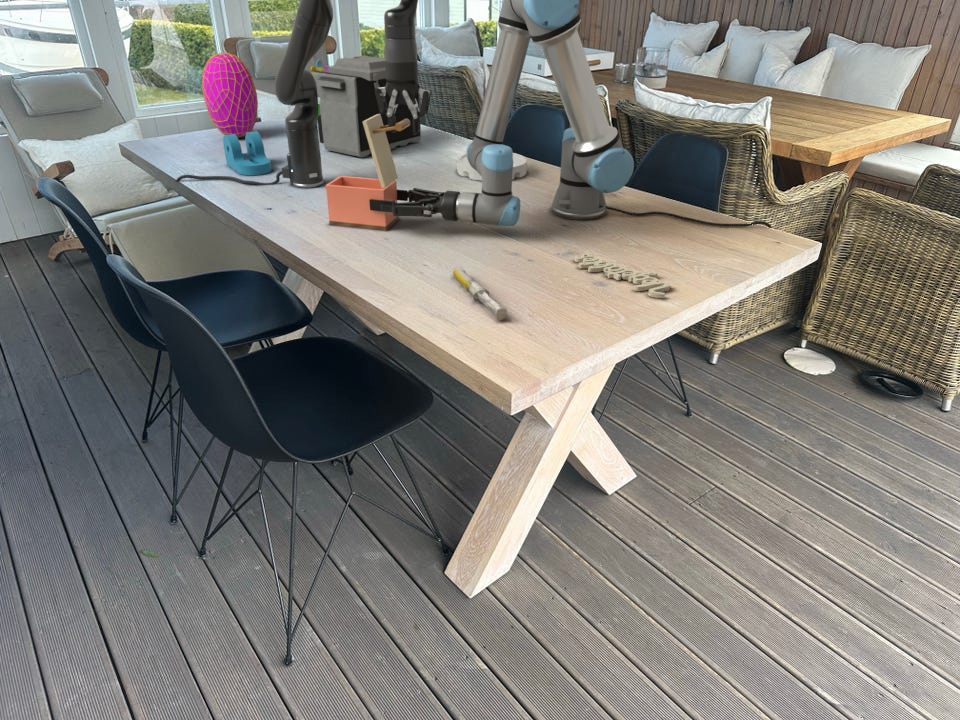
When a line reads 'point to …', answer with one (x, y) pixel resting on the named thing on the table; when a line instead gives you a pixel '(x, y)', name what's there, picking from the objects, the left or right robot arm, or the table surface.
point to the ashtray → (470, 172)
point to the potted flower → (319, 68)
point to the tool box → (356, 106)
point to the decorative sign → (625, 274)
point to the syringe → (479, 293)
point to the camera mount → (246, 154)
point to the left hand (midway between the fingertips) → (404, 132)
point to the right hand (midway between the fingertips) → (377, 199)
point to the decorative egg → (230, 94)
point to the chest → (359, 203)
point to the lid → (382, 147)
